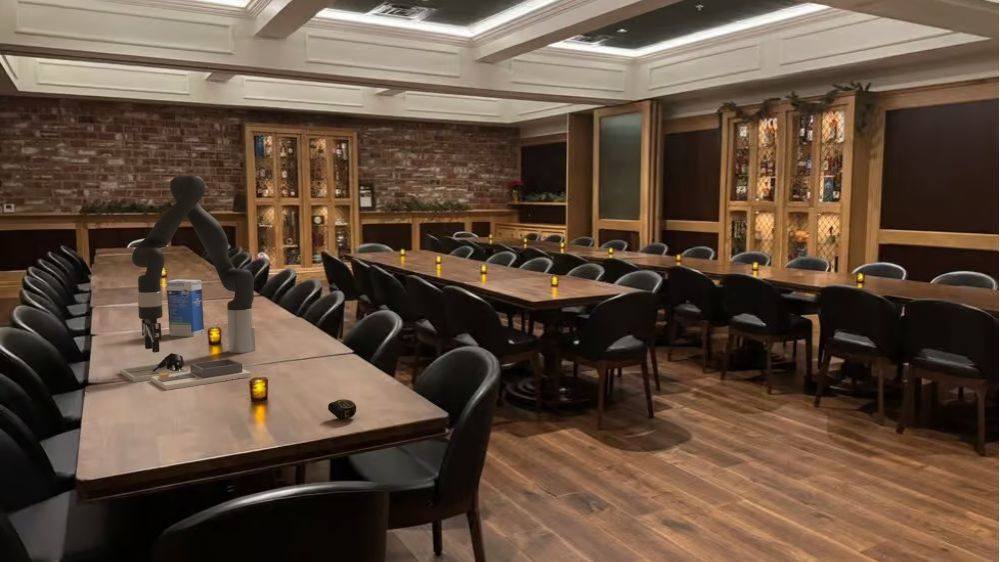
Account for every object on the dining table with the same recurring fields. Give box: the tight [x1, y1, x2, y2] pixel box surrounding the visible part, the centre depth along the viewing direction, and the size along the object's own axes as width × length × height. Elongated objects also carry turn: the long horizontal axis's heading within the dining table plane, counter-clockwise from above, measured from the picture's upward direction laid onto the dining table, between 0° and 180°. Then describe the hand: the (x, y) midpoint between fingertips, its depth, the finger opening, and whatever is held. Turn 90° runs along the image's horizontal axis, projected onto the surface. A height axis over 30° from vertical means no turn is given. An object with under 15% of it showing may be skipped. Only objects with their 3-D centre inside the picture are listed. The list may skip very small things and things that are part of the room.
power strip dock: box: [150, 358, 252, 391], centre depth 250 cm, size 28×16×4 cm, turn 131°
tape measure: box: [327, 398, 357, 420], centre depth 204 cm, size 7×7×4 cm
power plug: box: [152, 352, 185, 372], centre depth 258 cm, size 6×8×12 cm
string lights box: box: [166, 279, 205, 338], centre depth 328 cm, size 13×8×26 cm, turn 74°
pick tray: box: [119, 363, 189, 383], centre depth 258 cm, size 18×18×2 cm
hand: (152, 350), depth 257 cm, fingers open, 8 cm apart
